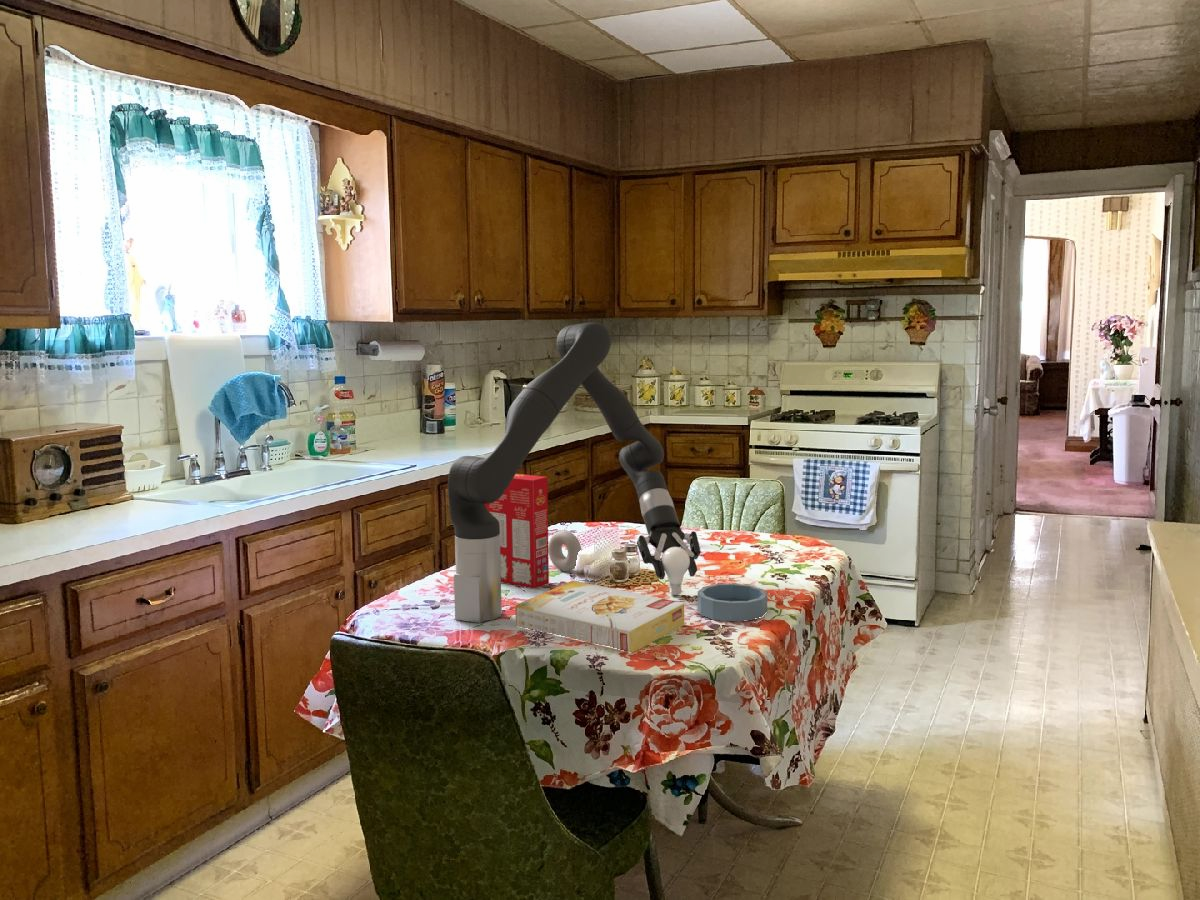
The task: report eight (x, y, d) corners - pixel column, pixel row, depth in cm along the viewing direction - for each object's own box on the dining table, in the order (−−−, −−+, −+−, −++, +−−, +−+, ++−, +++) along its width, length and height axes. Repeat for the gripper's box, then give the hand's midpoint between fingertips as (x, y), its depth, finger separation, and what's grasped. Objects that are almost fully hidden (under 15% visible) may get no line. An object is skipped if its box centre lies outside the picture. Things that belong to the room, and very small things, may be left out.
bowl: (755, 625, 202) (755, 606, 201) (689, 616, 208) (689, 597, 207) (773, 606, 214) (774, 588, 214) (711, 598, 220) (711, 580, 220)
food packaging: (548, 583, 233) (547, 476, 230) (535, 588, 229) (533, 480, 225) (499, 574, 241) (497, 471, 238) (485, 579, 237) (482, 474, 233)
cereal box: (572, 578, 217) (686, 599, 202) (572, 603, 218) (686, 625, 203) (513, 604, 201) (633, 628, 185) (514, 630, 202) (633, 657, 186)
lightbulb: (666, 600, 219) (666, 551, 217) (657, 592, 225) (657, 544, 223) (693, 598, 221) (694, 549, 219) (683, 590, 227) (684, 542, 225)
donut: (584, 572, 242) (584, 532, 241) (575, 575, 240) (574, 534, 238) (555, 565, 249) (554, 526, 247) (545, 568, 246) (544, 528, 245)
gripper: (633, 505, 225) (651, 570, 215) (692, 501, 229) (713, 564, 220) (625, 524, 231) (643, 587, 221) (683, 519, 235) (703, 581, 226)
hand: (678, 575), depth 220 cm, fingers open, 6 cm apart
